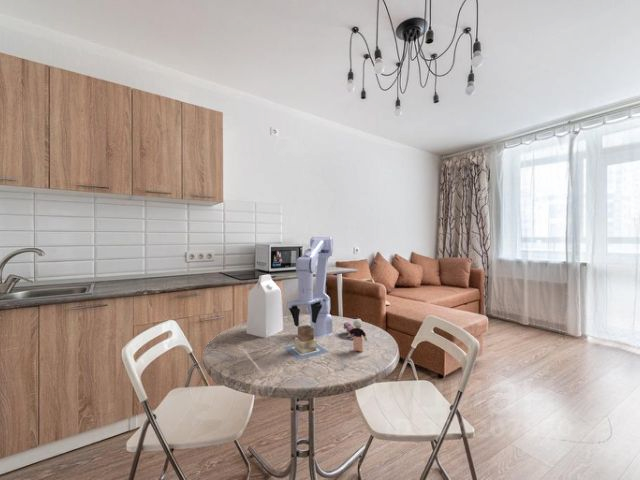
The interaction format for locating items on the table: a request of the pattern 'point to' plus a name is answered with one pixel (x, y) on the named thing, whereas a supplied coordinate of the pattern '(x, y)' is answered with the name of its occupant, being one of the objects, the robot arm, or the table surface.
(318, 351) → the board
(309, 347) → the maple block
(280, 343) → the table surface
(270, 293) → the milk
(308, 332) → the walnut cube
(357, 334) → the grandmother figurine
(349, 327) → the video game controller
